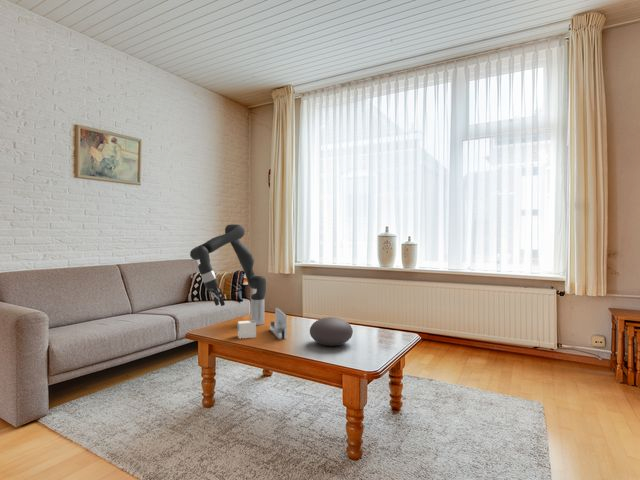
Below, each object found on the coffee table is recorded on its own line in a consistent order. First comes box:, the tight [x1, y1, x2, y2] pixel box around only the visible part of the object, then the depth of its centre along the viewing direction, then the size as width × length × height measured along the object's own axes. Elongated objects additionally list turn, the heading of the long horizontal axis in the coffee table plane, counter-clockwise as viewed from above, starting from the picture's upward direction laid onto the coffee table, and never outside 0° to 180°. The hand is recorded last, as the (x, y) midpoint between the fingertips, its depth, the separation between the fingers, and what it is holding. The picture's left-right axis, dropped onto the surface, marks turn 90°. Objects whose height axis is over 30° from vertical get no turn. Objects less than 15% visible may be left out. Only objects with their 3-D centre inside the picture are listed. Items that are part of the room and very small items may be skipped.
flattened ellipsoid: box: [309, 316, 354, 347], centre depth 205 cm, size 25×25×15 cm
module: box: [236, 319, 257, 340], centre depth 218 cm, size 6×10×10 cm, turn 110°
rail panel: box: [269, 307, 288, 340], centre depth 225 cm, size 24×5×14 cm, turn 20°
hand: (220, 305), depth 209 cm, fingers open, 8 cm apart
